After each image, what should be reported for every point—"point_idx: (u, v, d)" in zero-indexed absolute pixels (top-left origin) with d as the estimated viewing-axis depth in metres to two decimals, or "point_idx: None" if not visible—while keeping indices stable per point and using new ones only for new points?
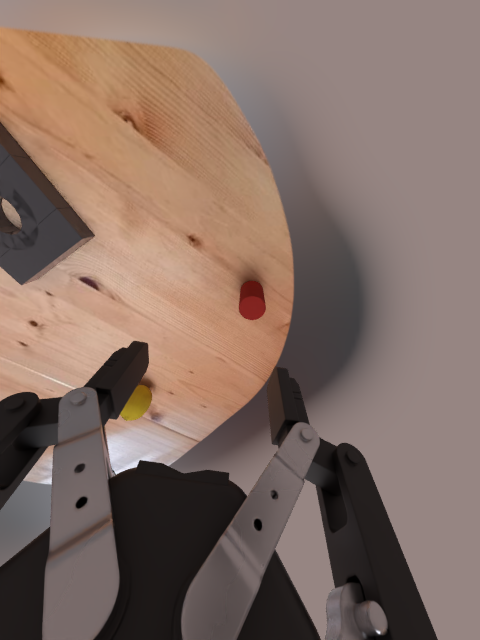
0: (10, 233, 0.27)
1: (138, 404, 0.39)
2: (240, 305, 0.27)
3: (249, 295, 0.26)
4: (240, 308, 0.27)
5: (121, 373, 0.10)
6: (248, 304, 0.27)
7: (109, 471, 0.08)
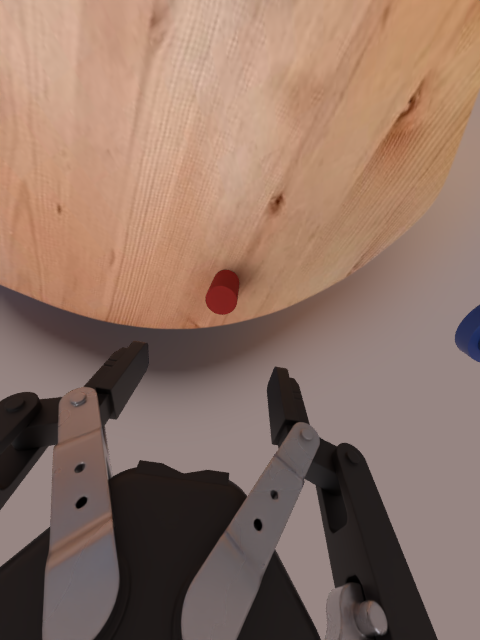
0: None
1: None
2: (221, 287, 0.22)
3: (235, 294, 0.23)
4: (218, 287, 0.22)
5: (121, 373, 0.10)
6: (225, 295, 0.23)
7: (109, 471, 0.08)
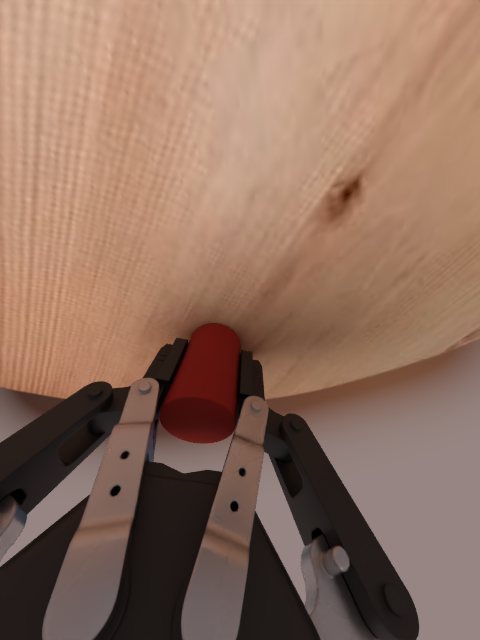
0: None
1: None
2: (200, 400, 0.09)
3: (234, 410, 0.09)
4: (190, 399, 0.09)
5: (174, 366, 0.11)
6: (209, 415, 0.09)
7: None
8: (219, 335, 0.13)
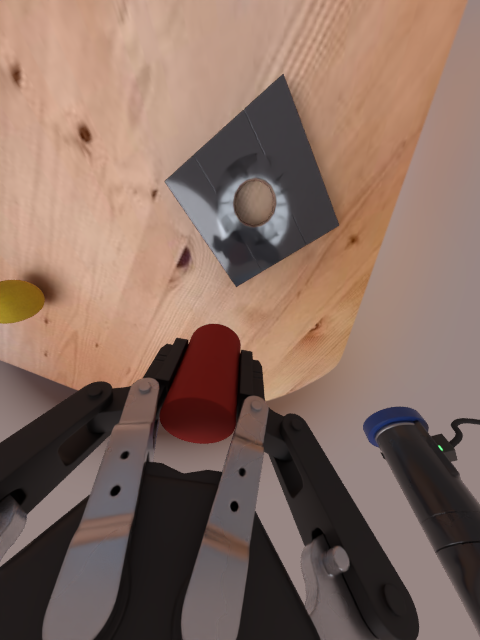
0: (234, 199, 0.22)
1: (19, 318, 0.27)
2: (199, 400, 0.09)
3: (234, 410, 0.09)
4: (190, 400, 0.09)
5: (174, 366, 0.11)
6: (209, 415, 0.09)
7: None
8: (219, 335, 0.13)
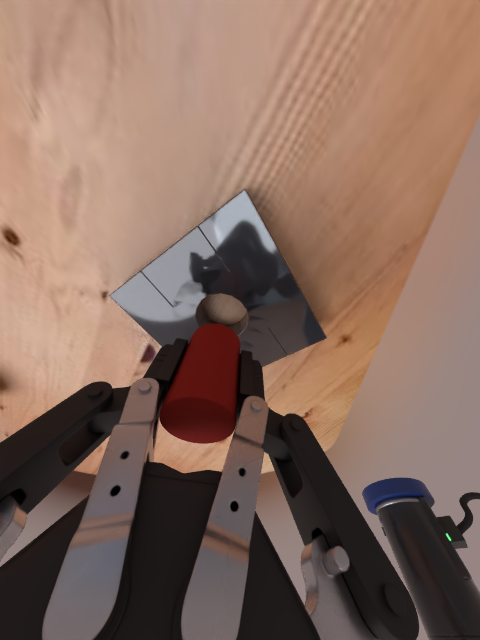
0: (197, 311, 0.18)
1: None
2: (200, 400, 0.09)
3: (234, 410, 0.09)
4: (190, 399, 0.09)
5: (174, 366, 0.11)
6: (209, 415, 0.09)
7: None
8: (219, 335, 0.13)
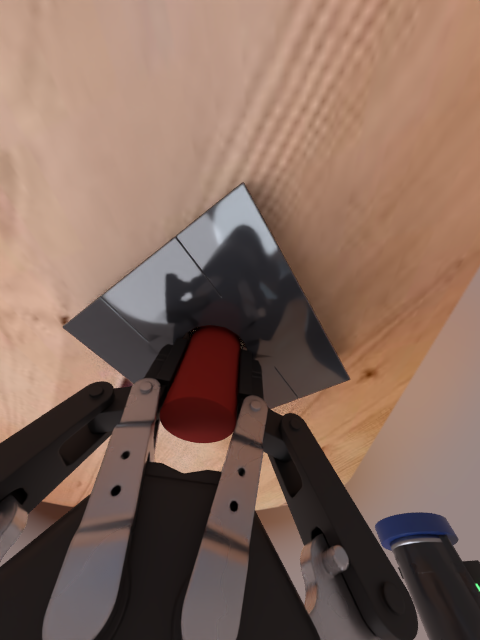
0: None
1: None
2: (200, 399, 0.09)
3: (234, 409, 0.09)
4: (191, 399, 0.09)
5: (174, 366, 0.11)
6: (209, 415, 0.09)
7: None
8: (219, 335, 0.13)
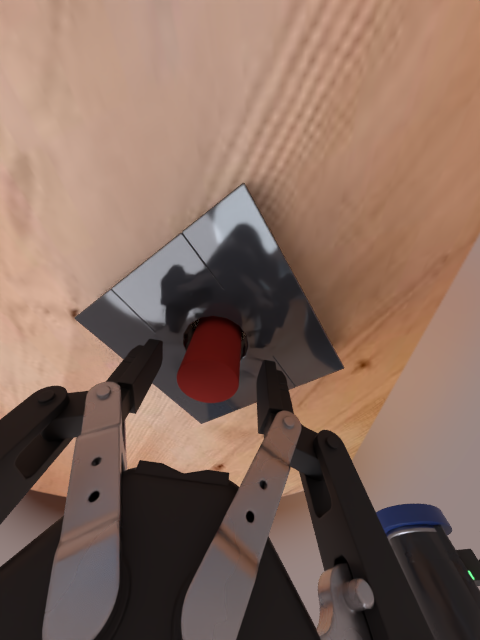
0: (184, 336, 0.15)
1: None
2: (210, 361, 0.11)
3: (237, 372, 0.12)
4: (203, 361, 0.11)
5: (141, 369, 0.10)
6: (217, 376, 0.11)
7: (124, 467, 0.08)
8: None
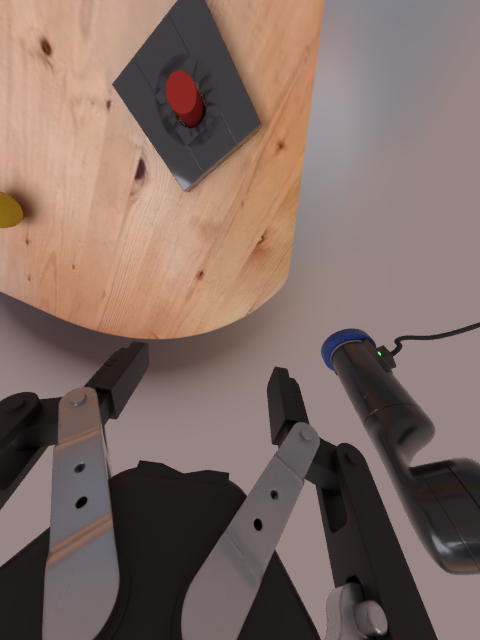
0: None
1: None
2: (181, 72, 0.23)
3: (195, 87, 0.24)
4: (178, 72, 0.23)
5: (121, 373, 0.10)
6: (185, 85, 0.23)
7: (109, 471, 0.08)
8: None
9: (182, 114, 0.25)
